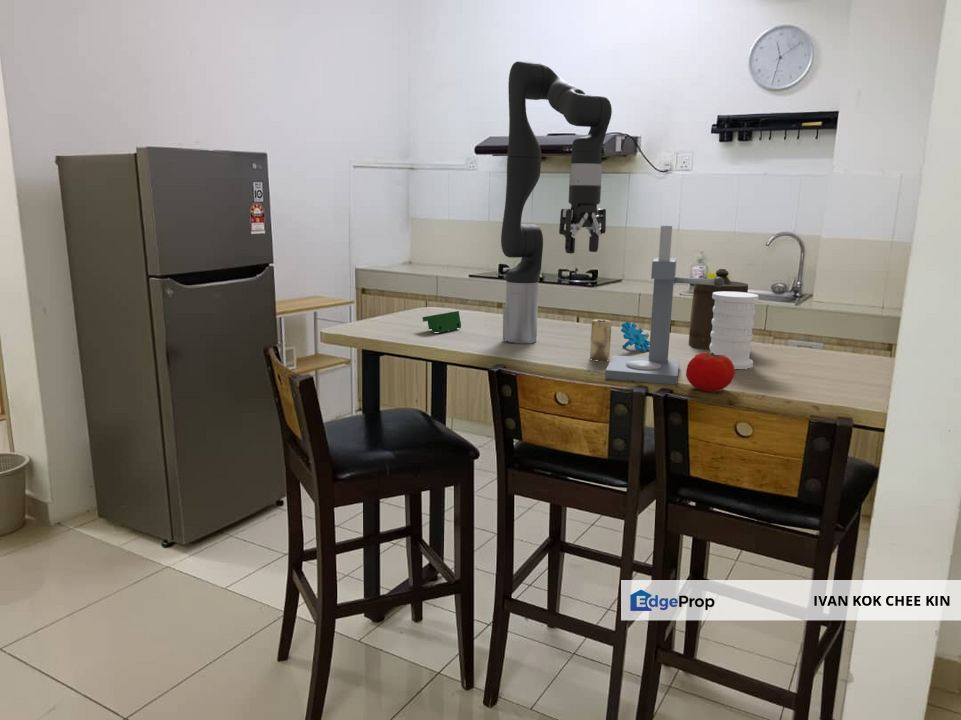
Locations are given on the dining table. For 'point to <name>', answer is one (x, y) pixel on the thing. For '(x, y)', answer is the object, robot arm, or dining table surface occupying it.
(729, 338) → the decorative container
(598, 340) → the disc
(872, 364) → the dining table surface
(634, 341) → the gear
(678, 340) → the dining table surface
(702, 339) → the wooden container
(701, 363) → the tomato
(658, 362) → the press
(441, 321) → the dark green angular piece
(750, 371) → the dining table surface
